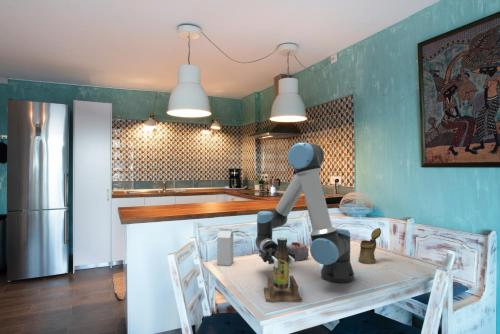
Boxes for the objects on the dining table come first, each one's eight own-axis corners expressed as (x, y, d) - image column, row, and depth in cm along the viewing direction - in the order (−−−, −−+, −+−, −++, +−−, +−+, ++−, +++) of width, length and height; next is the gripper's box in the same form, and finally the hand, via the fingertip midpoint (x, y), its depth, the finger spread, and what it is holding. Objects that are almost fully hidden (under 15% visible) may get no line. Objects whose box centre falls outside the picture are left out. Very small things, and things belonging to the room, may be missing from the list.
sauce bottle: (270, 286, 131) (270, 238, 131) (279, 282, 136) (279, 235, 135) (283, 291, 127) (283, 240, 126) (292, 286, 131) (292, 238, 131)
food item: (301, 256, 188) (301, 239, 188) (309, 259, 181) (309, 242, 181) (281, 259, 182) (281, 242, 182) (289, 263, 175) (289, 245, 175)
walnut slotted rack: (296, 289, 137) (296, 275, 137) (301, 301, 125) (301, 285, 125) (263, 290, 137) (263, 275, 137) (266, 301, 125) (266, 286, 125)
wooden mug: (385, 262, 176) (385, 229, 176) (365, 264, 171) (365, 231, 171) (374, 257, 184) (374, 226, 184) (354, 260, 179) (354, 228, 179)
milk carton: (230, 266, 170) (230, 230, 170) (217, 265, 171) (217, 229, 171) (233, 262, 177) (233, 227, 177) (221, 261, 178) (220, 227, 178)
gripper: (289, 255, 151) (308, 271, 128) (249, 257, 147) (261, 274, 124) (289, 239, 150) (308, 252, 128) (249, 241, 147) (261, 255, 124)
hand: (285, 263), depth 126 cm, fingers closed on sauce bottle, 6 cm apart
